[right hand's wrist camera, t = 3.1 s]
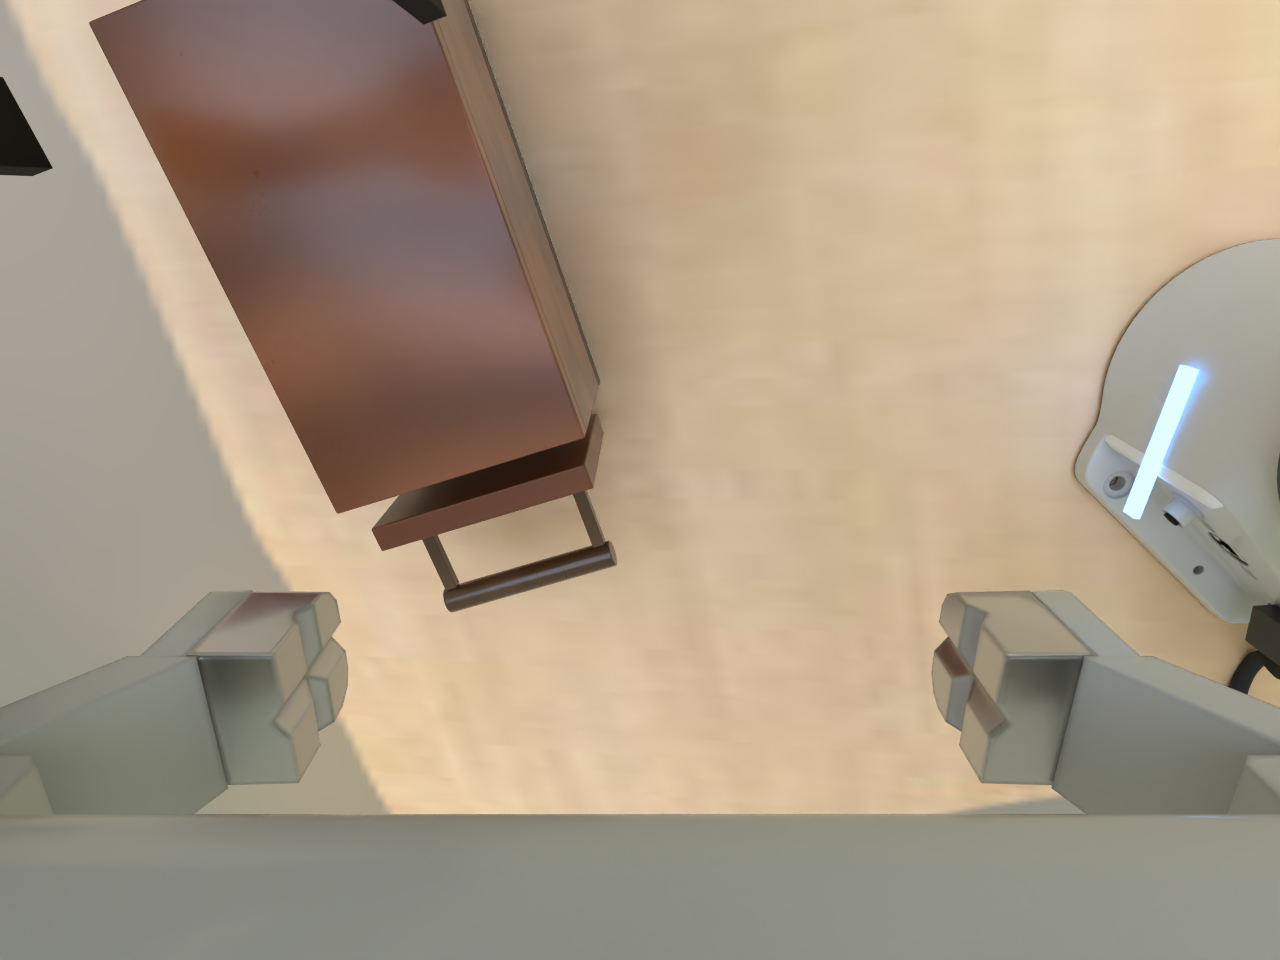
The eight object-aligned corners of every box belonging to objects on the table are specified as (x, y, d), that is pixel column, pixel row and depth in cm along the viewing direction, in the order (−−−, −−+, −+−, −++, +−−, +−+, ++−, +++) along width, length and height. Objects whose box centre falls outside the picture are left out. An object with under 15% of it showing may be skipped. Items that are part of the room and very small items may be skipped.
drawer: (633, 515, 43) (629, 586, 35) (464, 565, 44) (426, 643, 37) (474, 70, 35) (426, 36, 27) (275, 145, 36) (175, 133, 29)
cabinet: (600, 381, 41) (585, 438, 32) (406, 442, 43) (336, 515, 33) (459, -23, 35) (387, -103, 25) (234, 66, 36) (86, 21, 26)
